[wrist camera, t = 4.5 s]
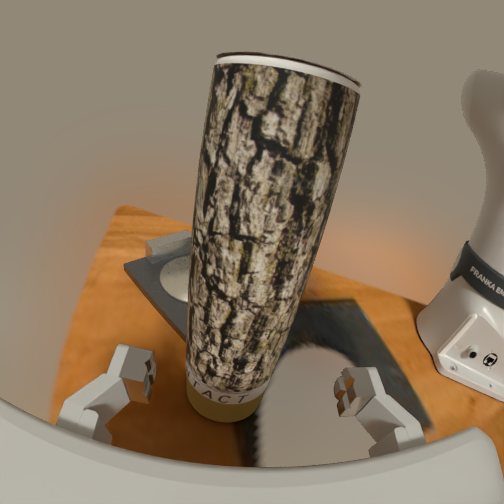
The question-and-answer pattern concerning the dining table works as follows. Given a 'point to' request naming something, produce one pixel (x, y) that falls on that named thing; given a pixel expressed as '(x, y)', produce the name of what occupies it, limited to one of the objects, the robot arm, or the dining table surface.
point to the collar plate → (165, 277)
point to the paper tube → (259, 218)
